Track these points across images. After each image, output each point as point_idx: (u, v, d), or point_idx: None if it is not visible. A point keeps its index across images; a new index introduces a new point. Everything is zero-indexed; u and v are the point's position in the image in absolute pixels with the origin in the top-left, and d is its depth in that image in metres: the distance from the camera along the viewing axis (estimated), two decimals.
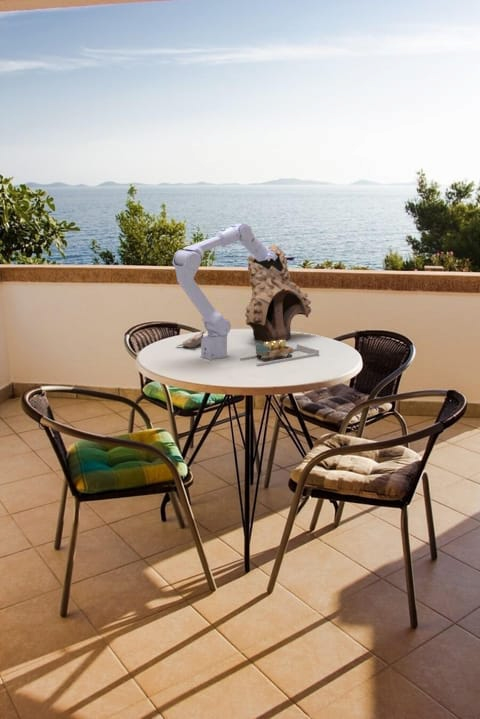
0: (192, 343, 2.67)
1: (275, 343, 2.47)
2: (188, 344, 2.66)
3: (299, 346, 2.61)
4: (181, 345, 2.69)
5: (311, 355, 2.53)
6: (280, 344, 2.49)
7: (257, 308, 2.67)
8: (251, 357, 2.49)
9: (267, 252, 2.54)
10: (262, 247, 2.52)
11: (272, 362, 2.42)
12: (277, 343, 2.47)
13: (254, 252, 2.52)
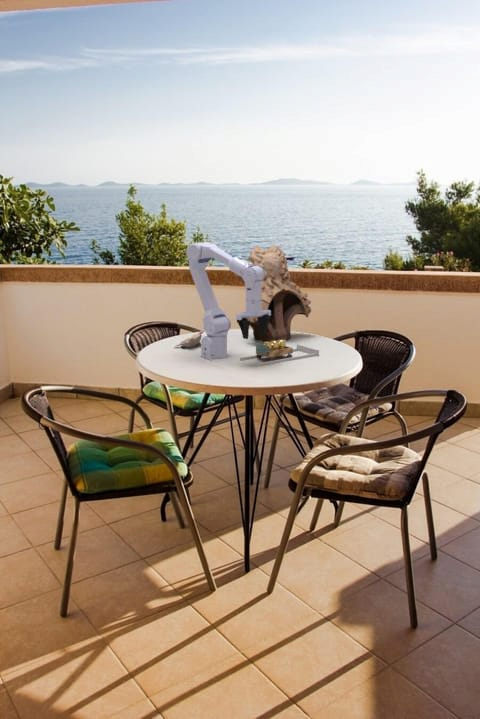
0: (190, 343, 2.67)
1: (275, 343, 2.47)
2: (186, 344, 2.66)
3: (299, 346, 2.61)
4: (179, 345, 2.69)
5: (311, 355, 2.53)
6: (280, 344, 2.49)
7: None
8: (251, 357, 2.49)
9: (249, 313, 2.37)
10: (249, 304, 2.36)
11: (272, 362, 2.42)
12: (277, 343, 2.47)
13: None
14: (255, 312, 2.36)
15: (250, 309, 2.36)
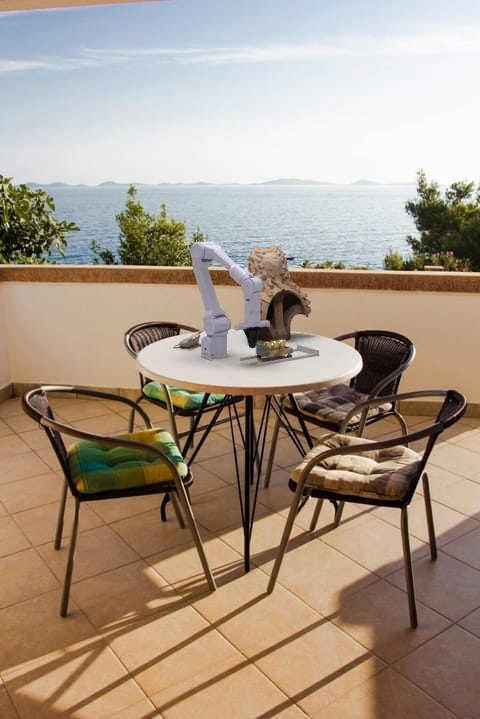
0: (189, 343, 2.67)
1: (275, 343, 2.47)
2: (185, 344, 2.66)
3: (299, 346, 2.61)
4: (178, 345, 2.69)
5: (311, 355, 2.53)
6: (280, 344, 2.49)
7: None
8: (251, 357, 2.49)
9: (247, 323, 2.38)
10: (247, 315, 2.37)
11: (272, 362, 2.42)
12: (277, 343, 2.47)
13: None
14: (253, 323, 2.37)
15: (248, 320, 2.37)
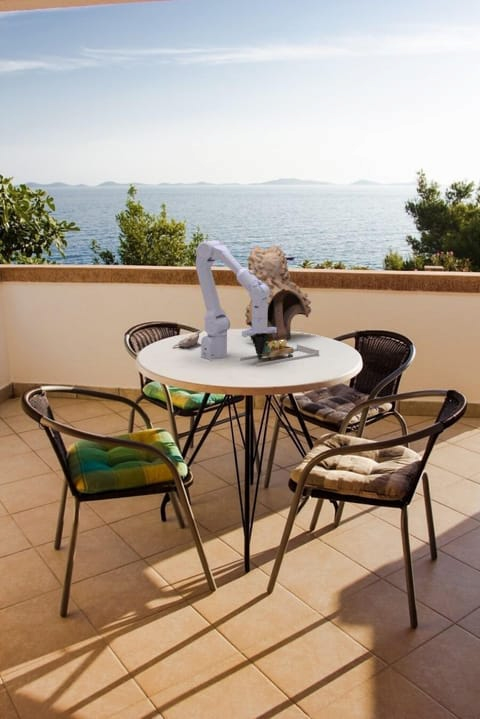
0: (188, 343, 2.67)
1: (276, 343, 2.47)
2: (184, 344, 2.66)
3: (299, 346, 2.61)
4: (177, 345, 2.69)
5: (311, 355, 2.53)
6: (281, 344, 2.49)
7: None
8: (251, 357, 2.49)
9: (254, 330, 2.40)
10: (255, 321, 2.39)
11: (272, 362, 2.42)
12: (278, 343, 2.47)
13: None
14: (260, 329, 2.40)
15: (256, 326, 2.40)
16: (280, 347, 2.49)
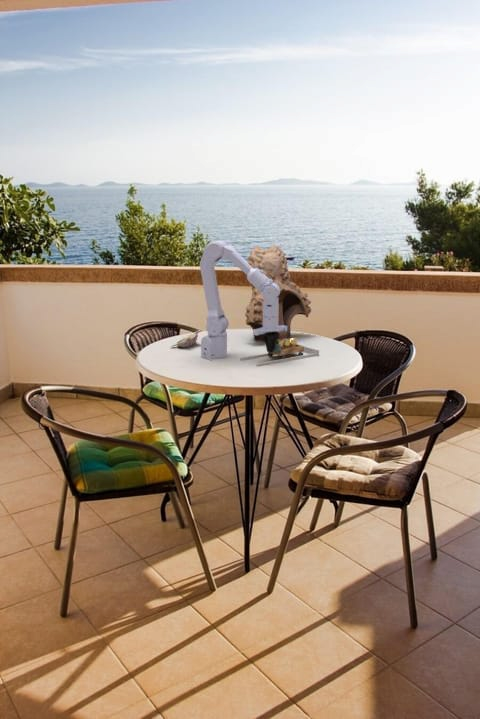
0: (187, 343, 2.67)
1: (286, 341, 2.50)
2: (183, 344, 2.66)
3: None
4: (176, 345, 2.69)
5: (311, 355, 2.53)
6: (291, 342, 2.52)
7: (257, 308, 2.67)
8: (251, 357, 2.49)
9: (266, 328, 2.43)
10: (266, 320, 2.42)
11: (272, 362, 2.42)
12: (288, 341, 2.50)
13: None
14: (272, 328, 2.42)
15: (267, 325, 2.42)
16: (291, 345, 2.52)
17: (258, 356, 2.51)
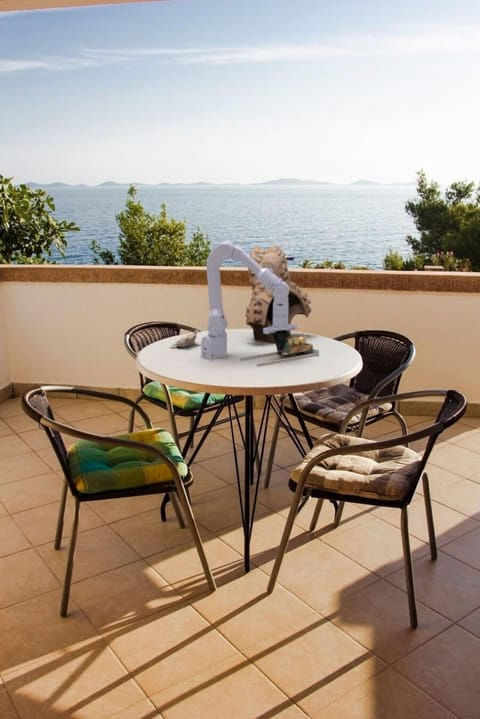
0: (186, 343, 2.67)
1: (296, 340, 2.52)
2: (182, 344, 2.66)
3: None
4: (174, 345, 2.69)
5: (311, 355, 2.53)
6: (300, 341, 2.54)
7: (257, 308, 2.67)
8: (251, 357, 2.49)
9: (275, 327, 2.46)
10: (276, 319, 2.45)
11: (272, 362, 2.42)
12: (298, 340, 2.53)
13: None
14: (281, 326, 2.45)
15: (277, 323, 2.45)
16: (300, 344, 2.55)
17: (258, 356, 2.51)
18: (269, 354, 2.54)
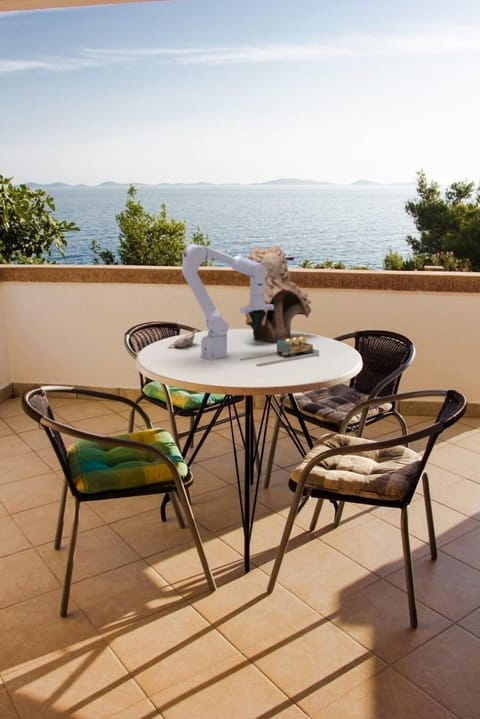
0: (184, 343, 2.67)
1: (296, 340, 2.52)
2: (180, 344, 2.66)
3: None
4: (173, 345, 2.69)
5: (311, 355, 2.53)
6: (300, 341, 2.54)
7: None
8: (251, 357, 2.49)
9: (252, 307, 2.51)
10: (253, 298, 2.51)
11: (272, 362, 2.42)
12: (298, 340, 2.53)
13: None
14: (258, 306, 2.51)
15: (254, 303, 2.51)
16: (300, 344, 2.55)
17: (258, 356, 2.51)
18: (269, 354, 2.54)
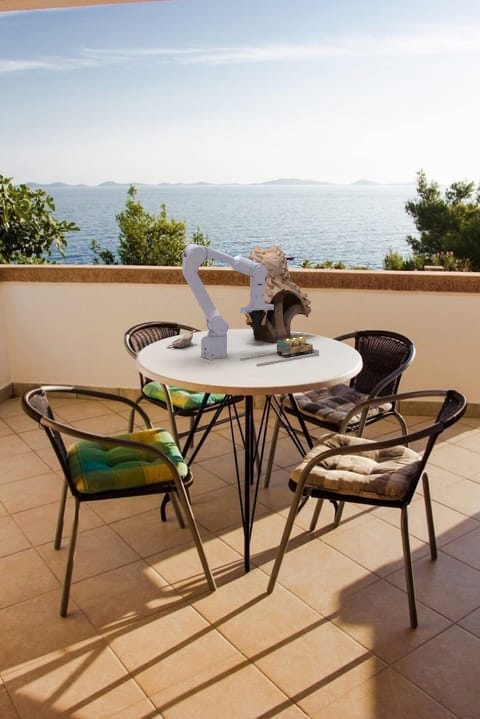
0: (183, 343, 2.67)
1: (295, 340, 2.52)
2: (179, 344, 2.66)
3: None
4: (171, 345, 2.69)
5: (311, 355, 2.53)
6: (300, 341, 2.54)
7: None
8: (251, 357, 2.49)
9: (252, 306, 2.51)
10: (253, 298, 2.51)
11: (272, 362, 2.42)
12: (297, 340, 2.53)
13: None
14: (258, 306, 2.51)
15: (254, 303, 2.51)
16: (299, 344, 2.55)
17: (258, 356, 2.51)
18: (269, 354, 2.54)
